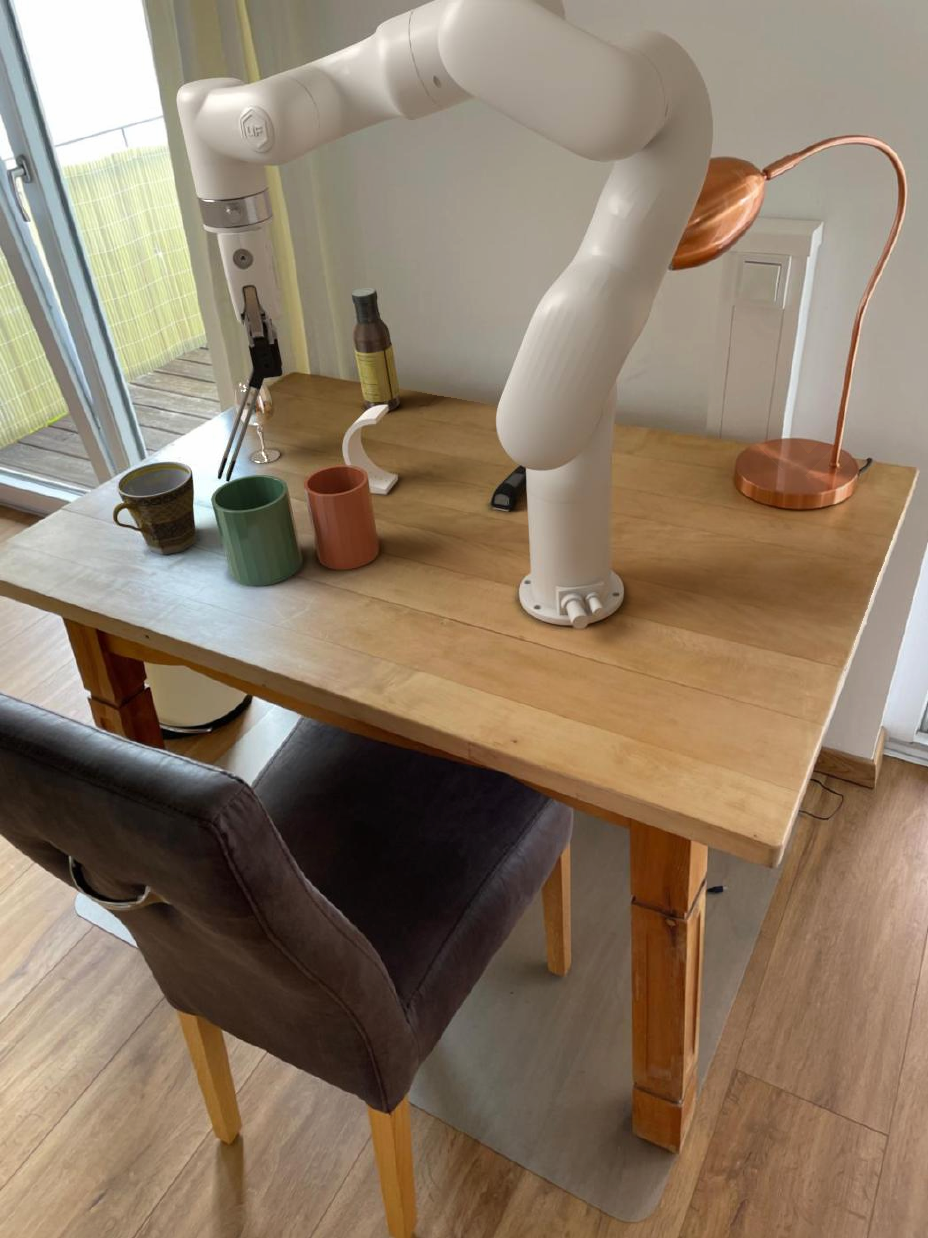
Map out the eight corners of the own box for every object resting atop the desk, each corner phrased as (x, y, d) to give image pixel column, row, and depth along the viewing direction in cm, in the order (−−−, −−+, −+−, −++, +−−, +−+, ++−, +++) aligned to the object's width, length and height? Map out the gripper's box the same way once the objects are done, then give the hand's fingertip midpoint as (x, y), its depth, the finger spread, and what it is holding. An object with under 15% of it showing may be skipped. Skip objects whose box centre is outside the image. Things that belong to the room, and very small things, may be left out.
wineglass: (241, 463, 158) (224, 392, 151) (257, 447, 163) (242, 377, 156) (274, 466, 157) (258, 394, 150) (289, 449, 161) (275, 378, 154)
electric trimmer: (556, 464, 150) (556, 444, 148) (513, 512, 139) (512, 492, 137) (533, 460, 152) (533, 441, 150) (488, 508, 141) (487, 488, 139)
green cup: (304, 579, 130) (288, 505, 123) (229, 591, 129) (209, 517, 123) (301, 541, 138) (286, 470, 131) (230, 552, 137) (212, 481, 130)
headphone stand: (386, 494, 146) (375, 418, 139) (349, 490, 148) (336, 415, 141) (398, 479, 150) (388, 404, 143) (361, 475, 152) (349, 402, 145)
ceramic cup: (172, 518, 146) (154, 456, 140) (223, 532, 141) (207, 468, 136) (105, 562, 137) (83, 498, 131) (157, 579, 133) (137, 513, 127)
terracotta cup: (381, 564, 131) (370, 490, 125) (319, 574, 131) (304, 500, 124) (376, 532, 138) (365, 461, 131) (316, 542, 137) (302, 470, 131)
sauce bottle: (387, 395, 176) (372, 280, 164) (407, 405, 171) (393, 288, 160) (356, 406, 173) (338, 291, 161) (376, 417, 168) (359, 299, 157)
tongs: (301, 472, 125) (276, 329, 115) (218, 483, 124) (185, 340, 114) (301, 465, 127) (276, 323, 116) (219, 476, 126) (186, 334, 115)
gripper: (271, 224, 102) (303, 394, 112) (270, 188, 114) (298, 344, 125) (197, 233, 101) (235, 403, 112) (204, 196, 114) (238, 352, 124)
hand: (268, 371), depth 118 cm, fingers closed on tongs, 2 cm apart
